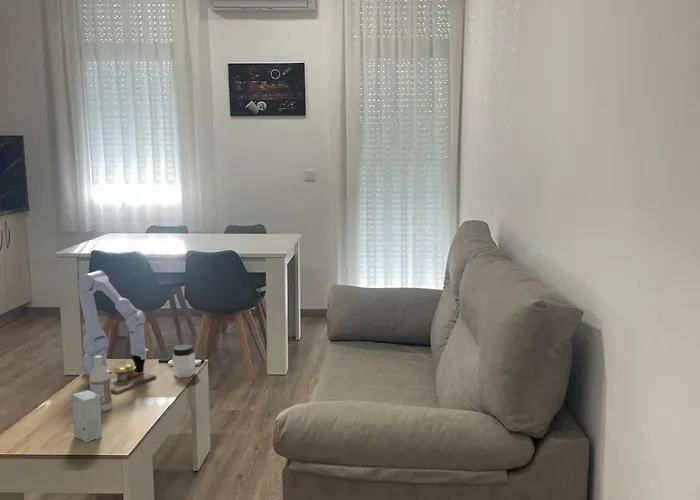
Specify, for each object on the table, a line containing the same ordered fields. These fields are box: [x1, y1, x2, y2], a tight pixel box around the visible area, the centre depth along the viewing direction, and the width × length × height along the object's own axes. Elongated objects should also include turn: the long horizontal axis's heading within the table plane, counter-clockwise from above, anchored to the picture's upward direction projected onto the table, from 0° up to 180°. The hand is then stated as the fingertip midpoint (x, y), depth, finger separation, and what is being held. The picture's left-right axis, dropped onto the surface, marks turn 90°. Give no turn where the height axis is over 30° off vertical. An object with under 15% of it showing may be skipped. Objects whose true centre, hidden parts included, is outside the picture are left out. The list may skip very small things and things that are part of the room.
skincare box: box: [72, 389, 103, 443], centre depth 217 cm, size 8×6×15 cm
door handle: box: [113, 364, 145, 378], centre depth 272 cm, size 13×6×5 cm, turn 147°
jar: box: [172, 343, 196, 379], centre depth 277 cm, size 9×8×12 cm
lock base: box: [87, 372, 157, 395], centre depth 269 cm, size 17×20×4 cm
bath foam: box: [89, 355, 113, 413], centre depth 241 cm, size 7×7×20 cm
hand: (140, 372), depth 274 cm, fingers closed, pressing on door handle
